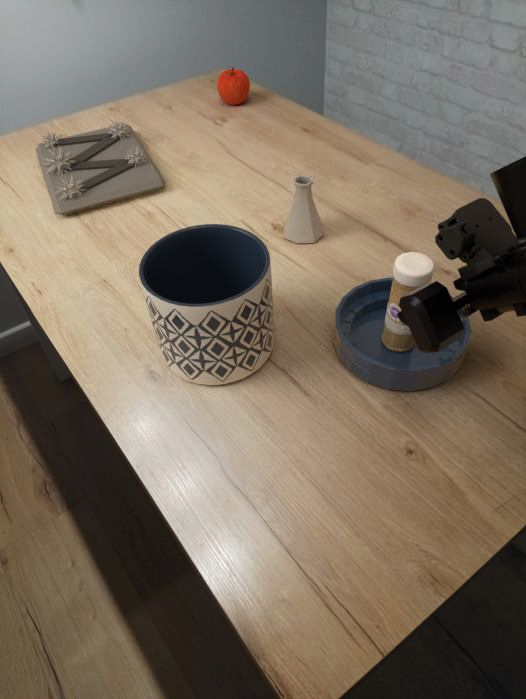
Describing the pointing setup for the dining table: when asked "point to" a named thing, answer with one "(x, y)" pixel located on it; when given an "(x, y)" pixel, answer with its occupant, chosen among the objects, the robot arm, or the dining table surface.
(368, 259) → the dining table surface
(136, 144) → the decorative plate
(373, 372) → the bowl
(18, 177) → the dining table surface
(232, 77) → the apple
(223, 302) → the planter
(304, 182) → the flask
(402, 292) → the sprinkles bottle
